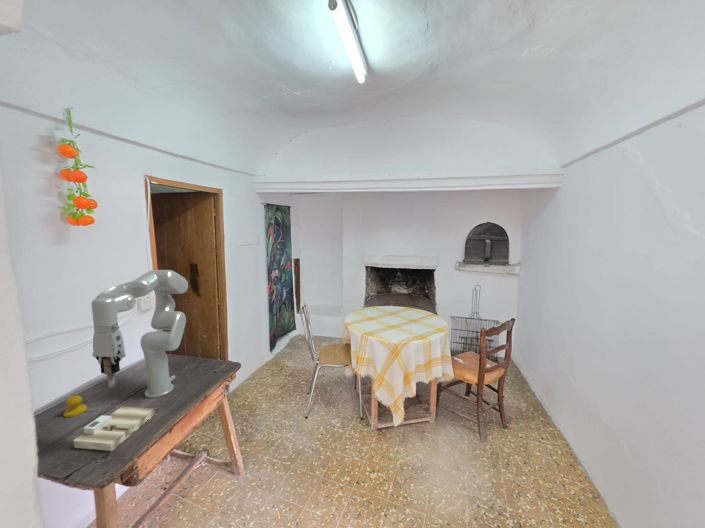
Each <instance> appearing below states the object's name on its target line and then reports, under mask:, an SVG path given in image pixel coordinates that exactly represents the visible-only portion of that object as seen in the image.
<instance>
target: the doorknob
mask: <svg viewBox="0 0 705 528" xmlns="http://www.w3.org/2000/svg"><path fill="white" fill-rule="evenodd" d="M82 401H83V397H82V395H81V396H80V395H79V394H77V395H72V396H70V397H68V398H67V399H66V401H65V405H66V406H67V407H68V408H67V409H65V411H64V412H63V417H65V418H73V417H76V416H80V415H81V414H83V413H84V412H86V411H87V409H88V406H87V405H86V404H81V403H82Z"/></svg>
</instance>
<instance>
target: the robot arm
mask: <svg viewBox="0 0 705 528" xmlns="http://www.w3.org/2000/svg"><path fill="white" fill-rule="evenodd" d="M188 289H189V282H188V280H187V279H186V278H185V277H184V276H182V275H181V274H179V273H178V272H176V271H174V270H171V269H154V270H149V271H147V272H145V273H143V274H142V275H141V276H139V277H137V278H136V279H133V280H132V281H128V282H124V283H121V284H118V285H115V286H112V287H110V288H108V289H105V290H103V291H102V292H100V293H99V294H98V295H97V296H96V297H95V298H94V299H93V300H92V301H91V314H92V321H93V322H92V323H93V330H94V331H93V337H92V351H93V353H92V354H91V355H92V357H93V358H95V359H96V360H97V361H98V364H99V366H100V374H104V365H103V359H104V358H106V357H111V361H112V364H111V371H112V374H114V375H115V374H116V373H119V372H120V371H121V369H120V362H121V361H122V359H124V358H125V357H126V353H125V352H126V349H125V341H124V339H123V338H124V337H123V335H122V331H121V329H120V325H119V322H118V314H119V313H122V312H127V311H131V310H132V309H134V307H135V305H136V299H138V298H143V297H146V296H147V295H149V294H150V293H151V292H154V295H155V297H156V305H155V309H154V312H153V314H152V318H151V322H150V326H151V328H152V329H153V330H154V331H149V332H145V333H143V335H142V336H141V338H140V348H141V349H142V353H143V357H144V364H145V374H146V383H147V389H146V390H144V396H145V397H146V398H150V399H153V398H154V399H155V398H159V397H163V396H166V395H168V394H169V393H172V391H173V390H174V387H175V386H174V384H173V383H172V381H174V380H175V379H176V375H171V376H170V372H169V371H170V370H169V362H168V354H167V353H166V352H172V351H173V352H174V351H176V350H177V349H178V348H179V346H180V345H181V342H182V338H183V335H184V331H185V327H186V324H187V318H186V314H185V313H184V312H183V311H178V310H177V311H176V310H175V308H176V300H175V299H174V297H172V294H173V295H175V294H176V295H178V294H185V293H186V292H187V291H188ZM156 330H157V331H156ZM115 357H116V359H115Z"/></svg>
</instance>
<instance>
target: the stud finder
mask: <svg viewBox="0 0 705 528" xmlns="http://www.w3.org/2000/svg"><path fill="white" fill-rule="evenodd" d="M110 422H112V417H111V416H109V415H103V414H102V415H99V416H98V417H97V418H96V419H94V420H93V421H91V422H90V423H88V424H87V425H85V426H84V427H83V428H82V429H83V430H82V431H83V433H85V434H95V433H97V432H98V431H99V430H101V429H102V428H103V427H105V426H106V425H108V424H109V423H110Z"/></svg>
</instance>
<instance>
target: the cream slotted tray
mask: <svg viewBox="0 0 705 528" xmlns="http://www.w3.org/2000/svg"><path fill="white" fill-rule="evenodd" d="M155 412H156V411H155V408H153V407H150V408H149V407H139V406H138V407H136V406H124V405H121V406H120V407H119V408H118V409H116V410H114V411H113V412H112V413H110V414H109V415H108V416H111V417H112V422H110V423H109V424H108V425H106V426H105V427H103V428H102V429H101V430H99V431H98V432H97V433H95V434H85V433H84V432H83V433H82V434H80V435H79V436H77V437H76V438H75V439H74V440H72V441H73V447H74V449H75V448H77V449H85V450H86V449H87V450H88V449H89V450H96V451H97V450H98V451H108V452H109V451H110V452H112V451H113V450H115V449H116V448H117V447H118V446H119V445H121V444H122V443H123V442H124V441H125V440H127V439H128V438H129V437H130V436H132V435H133V434H134V433H135V432H136V431H137V430H138V429H140V428H141V427H142V426H143V425H144V424H146V423H147V422H148V421H149V420H151V419H152V418H153V417H154V416H155V415H156V413H155ZM154 414H155V415H154ZM153 415H154V416H153ZM152 416H153V417H152ZM151 417H152V418H151ZM148 419H149V420H148ZM147 420H148V421H147ZM146 421H147V422H146ZM145 422H146V423H145ZM141 425H142V426H141ZM140 426H141V427H140ZM139 427H140V428H139ZM134 431H135V432H134ZM133 432H134V433H133ZM132 433H133V434H132Z"/></svg>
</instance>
